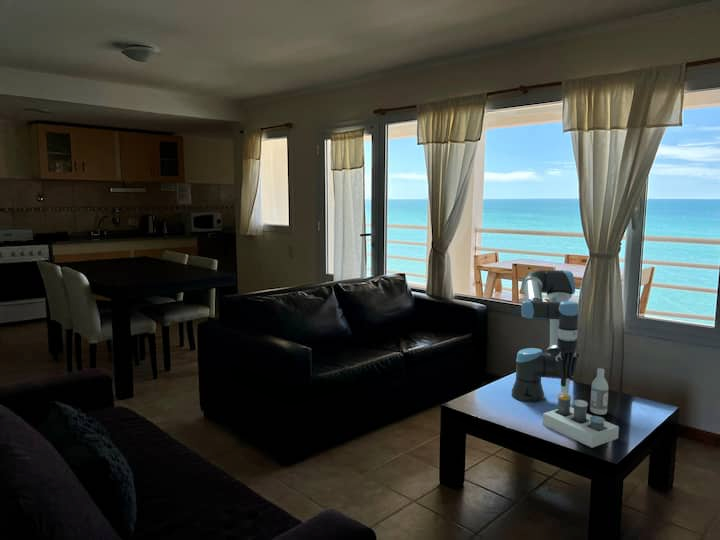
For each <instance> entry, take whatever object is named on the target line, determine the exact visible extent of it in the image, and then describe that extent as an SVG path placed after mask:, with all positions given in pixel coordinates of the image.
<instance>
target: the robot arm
mask: <svg viewBox="0 0 720 540" xmlns="http://www.w3.org/2000/svg"><path fill="white" fill-rule="evenodd" d="M521 287H522V290H523V292H524V297H525V300H523V301H522V302H521V317H522V318H526V319H527V318H528V319H540V320H542V319H543V320H544V319H546V320H549V346H548V348H547V349H546V352H543V350H542V349H541V348H536V347H529V348H528V347H527V348H523V349H520V350H519V351H518V352H517V353H516V354H517V355H516V359H515V361H516V367H515V368H516V370H515V373H516V374H515V381H514V384H513V387H512V389H511V397H513V398H514V399H515V400H516V399H517V400H518V401H522V402H527V403H528V402H529V403H535V402H536V403H537V402H542V401H544V399H545V391H544V389H543V385H542V378H547V379H549V378H550V379H560V394H568V395H570V394H569V393H570V392H569V390H570V381H571V380H572V379H573V377H574V376H575V371H576V366H577V362H578V358H579V356H580V353H578V352H576V349H577V348H578V340H577V339H578V328H579V313H580V309H579V307H580V304H579V303H578V302H576V301H571V300H570V299H572V298H573V297H572V296H573V295H575V292H576V283H575V277H574V274H573V273H572V271H569V270H564V269H563V270H562V269H561V270H560V269H559V270H557V269H556V270H554V269H553V270H551V269H537V270H534V271H531V272H529V273H528V274H527V275H526V276H524V278H523V279H522V283H521ZM542 293H543V294H546V297H547V298H548V299H549V301H544V300H543V294H542ZM569 300H570V301H569Z"/></svg>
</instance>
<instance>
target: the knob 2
mask: <svg viewBox="0 0 720 540" xmlns="http://www.w3.org/2000/svg"><path fill="white" fill-rule="evenodd" d="M588 405H589V404H588V401H586V400H583V399H574V400H573V408H574V419H573V420H574V421H576V422H578V423H586V414H588V413H587V410H588Z"/></svg>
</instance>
